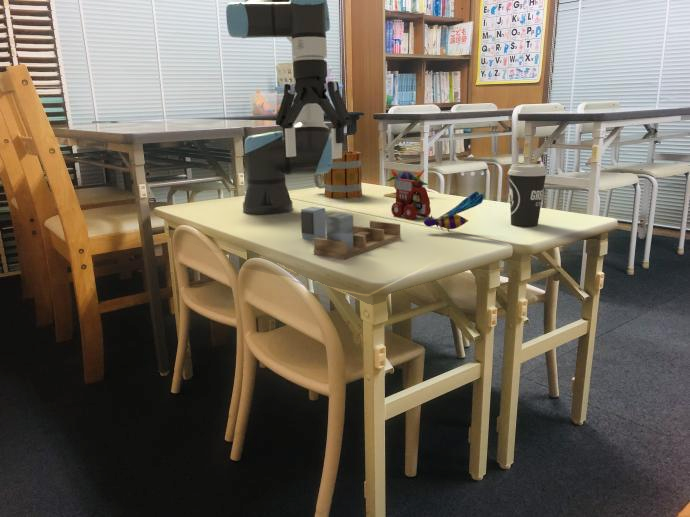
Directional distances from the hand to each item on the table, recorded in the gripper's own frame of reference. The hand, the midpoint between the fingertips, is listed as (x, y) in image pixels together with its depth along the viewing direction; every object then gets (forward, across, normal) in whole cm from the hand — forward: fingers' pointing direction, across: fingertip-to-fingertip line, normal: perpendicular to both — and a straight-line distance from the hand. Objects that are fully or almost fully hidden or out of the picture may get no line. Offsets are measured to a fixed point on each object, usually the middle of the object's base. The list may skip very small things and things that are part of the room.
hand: (313, 157), depth 126 cm
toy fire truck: (+19, +7, +33) cm, 39 cm away
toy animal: (+19, -13, +63) cm, 67 cm away
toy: (+19, +26, +20) cm, 38 cm away
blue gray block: (+19, 0, 0) cm, 19 cm away
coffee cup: (+19, +37, +38) cm, 56 cm away
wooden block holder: (+19, +14, -2) cm, 23 cm away
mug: (+19, -34, +54) cm, 67 cm away
